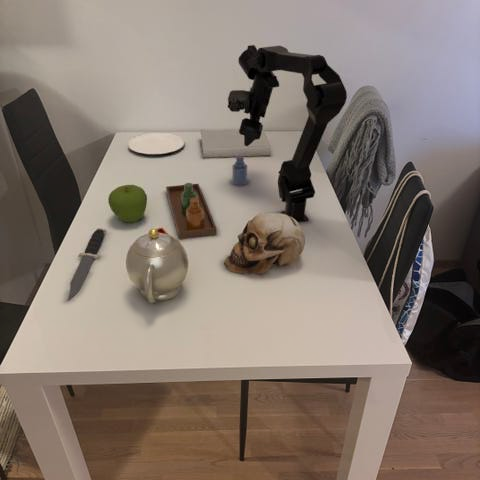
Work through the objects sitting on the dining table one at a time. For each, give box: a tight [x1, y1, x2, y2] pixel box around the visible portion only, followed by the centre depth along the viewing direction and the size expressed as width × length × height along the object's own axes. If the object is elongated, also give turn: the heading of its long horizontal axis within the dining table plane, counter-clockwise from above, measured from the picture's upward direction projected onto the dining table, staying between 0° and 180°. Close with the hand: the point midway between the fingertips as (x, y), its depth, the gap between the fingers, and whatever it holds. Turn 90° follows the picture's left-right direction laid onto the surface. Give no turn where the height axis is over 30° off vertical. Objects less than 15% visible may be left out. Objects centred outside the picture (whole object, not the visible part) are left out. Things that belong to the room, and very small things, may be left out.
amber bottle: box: [186, 198, 205, 230], centre depth 128 cm, size 5×5×8 cm
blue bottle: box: [231, 155, 248, 187], centre depth 152 cm, size 5×5×8 cm
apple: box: [107, 184, 148, 224], centre depth 132 cm, size 11×10×10 cm
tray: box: [165, 183, 218, 240], centre depth 138 cm, size 28×10×2 cm, turn 14°
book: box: [200, 128, 271, 159], centre depth 176 cm, size 18×4×24 cm
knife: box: [66, 227, 107, 301], centre depth 118 cm, size 30×2×5 cm
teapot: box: [125, 226, 189, 304], centre depth 104 cm, size 18×14×16 cm
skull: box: [223, 212, 306, 276], centre depth 117 cm, size 16×17×13 cm
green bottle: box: [181, 182, 198, 216], centre depth 135 cm, size 5×5×8 cm
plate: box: [127, 132, 186, 156], centre depth 176 cm, size 21×21×2 cm
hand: (248, 135), depth 146 cm, fingers open, 9 cm apart
